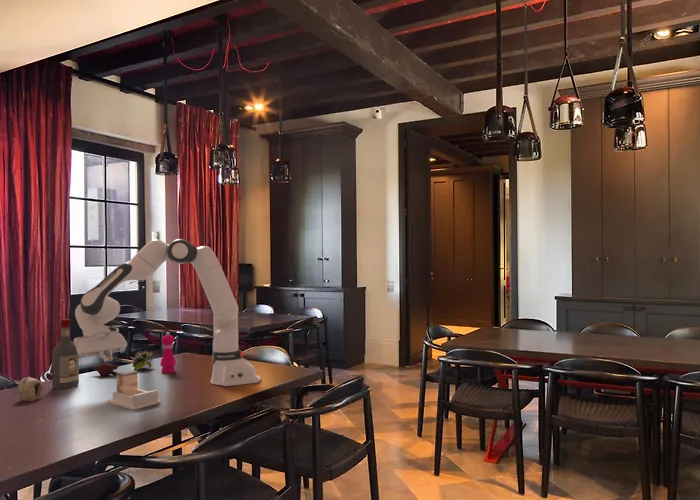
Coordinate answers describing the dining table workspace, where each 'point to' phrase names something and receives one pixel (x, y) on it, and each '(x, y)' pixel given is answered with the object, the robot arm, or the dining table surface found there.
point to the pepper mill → (168, 354)
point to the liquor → (65, 360)
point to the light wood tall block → (127, 382)
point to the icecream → (105, 369)
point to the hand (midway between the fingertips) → (109, 360)
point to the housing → (135, 399)
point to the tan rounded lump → (29, 389)
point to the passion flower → (141, 360)
